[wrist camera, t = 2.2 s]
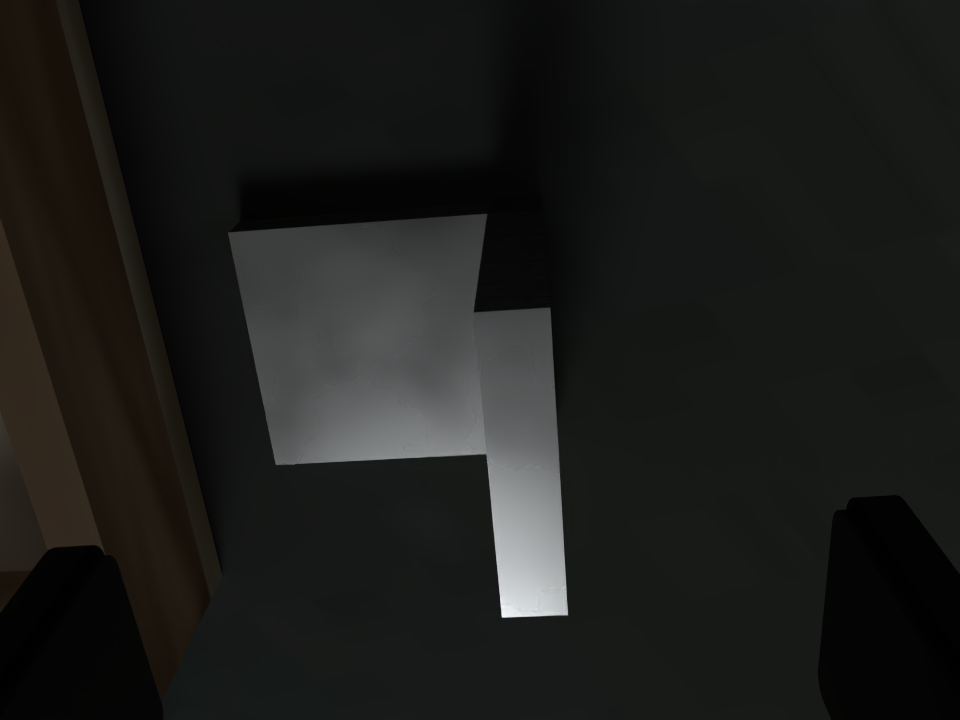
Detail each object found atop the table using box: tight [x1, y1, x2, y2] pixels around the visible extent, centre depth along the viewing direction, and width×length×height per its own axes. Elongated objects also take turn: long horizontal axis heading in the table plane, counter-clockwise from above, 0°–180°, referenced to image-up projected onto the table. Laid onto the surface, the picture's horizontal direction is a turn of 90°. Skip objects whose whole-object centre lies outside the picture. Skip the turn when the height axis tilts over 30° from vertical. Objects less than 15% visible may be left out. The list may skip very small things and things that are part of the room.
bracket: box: [228, 199, 568, 617], centre depth 18 cm, size 7×6×7 cm
